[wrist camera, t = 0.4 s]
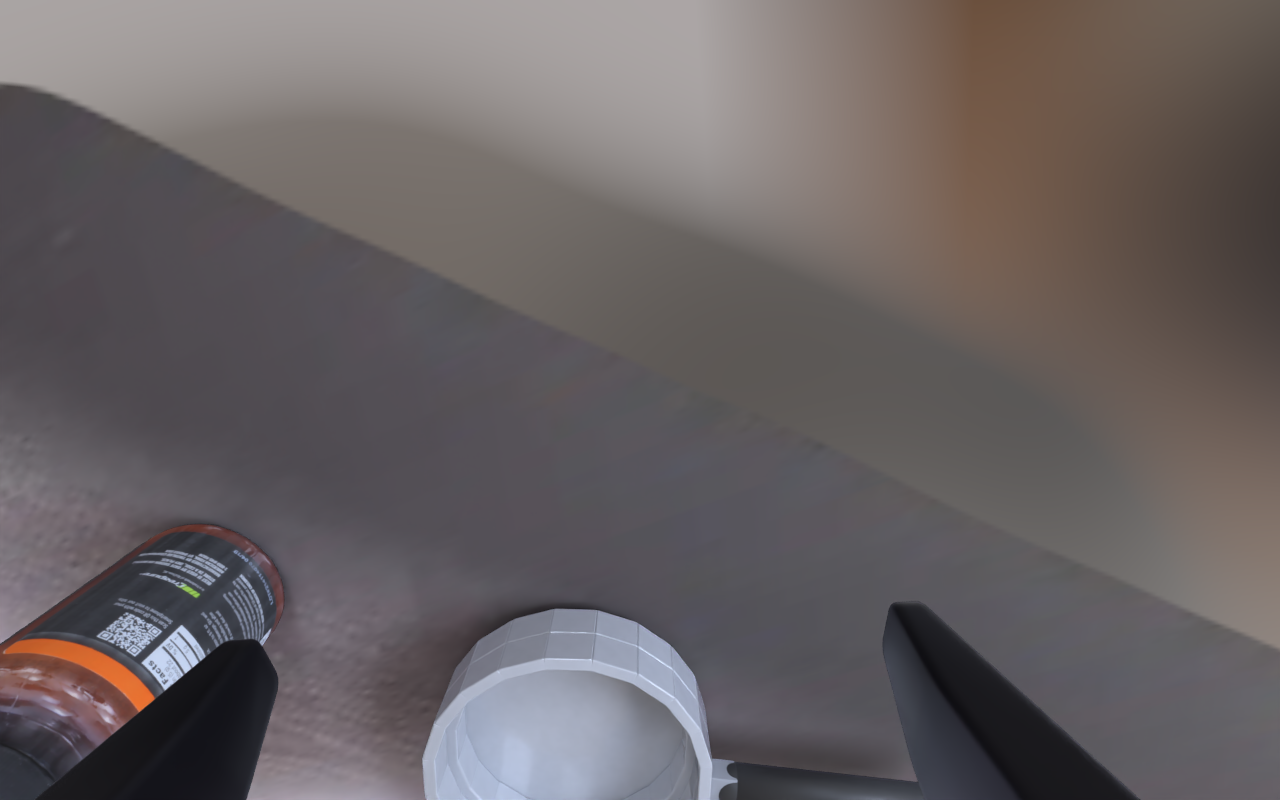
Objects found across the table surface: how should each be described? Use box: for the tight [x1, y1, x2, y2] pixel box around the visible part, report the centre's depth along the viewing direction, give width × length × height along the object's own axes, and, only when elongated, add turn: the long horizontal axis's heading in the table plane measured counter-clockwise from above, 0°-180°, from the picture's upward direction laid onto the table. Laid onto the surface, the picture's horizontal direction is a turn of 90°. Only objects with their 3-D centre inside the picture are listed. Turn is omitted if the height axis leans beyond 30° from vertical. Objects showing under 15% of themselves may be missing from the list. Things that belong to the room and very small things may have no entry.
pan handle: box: [690, 757, 925, 800], centre depth 26 cm, size 11×2×2 cm, turn 82°
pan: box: [422, 609, 713, 800], centre depth 27 cm, size 11×11×4 cm
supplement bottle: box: [0, 524, 284, 800], centre depth 21 cm, size 6×6×11 cm
